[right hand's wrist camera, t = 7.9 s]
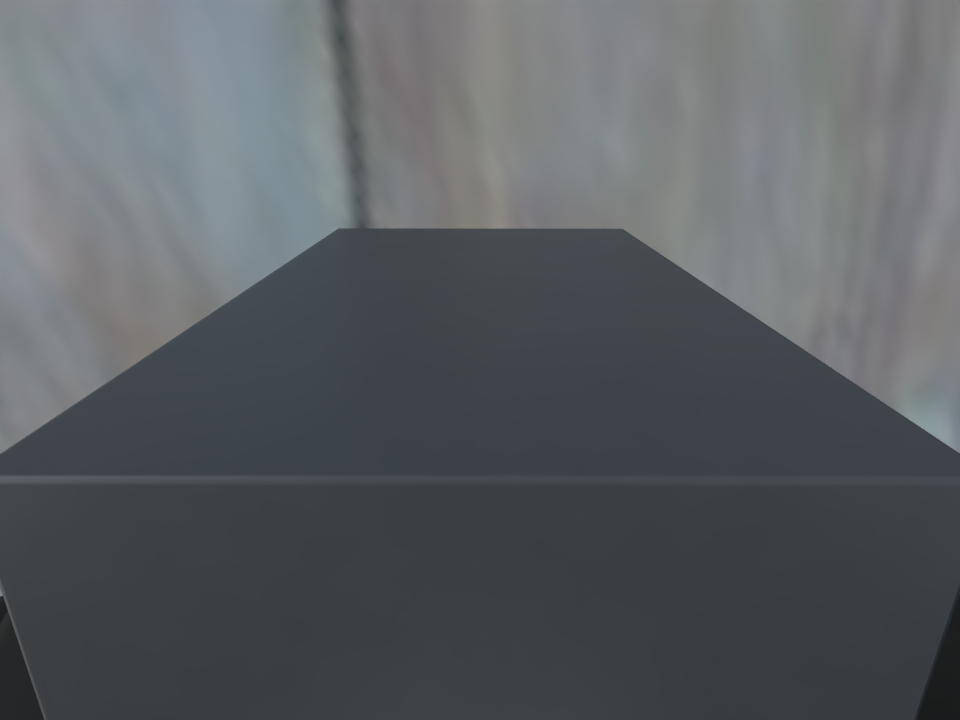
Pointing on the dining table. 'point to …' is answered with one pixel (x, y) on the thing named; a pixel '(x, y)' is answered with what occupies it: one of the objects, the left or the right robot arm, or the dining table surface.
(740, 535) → the box
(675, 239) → the dining table surface
